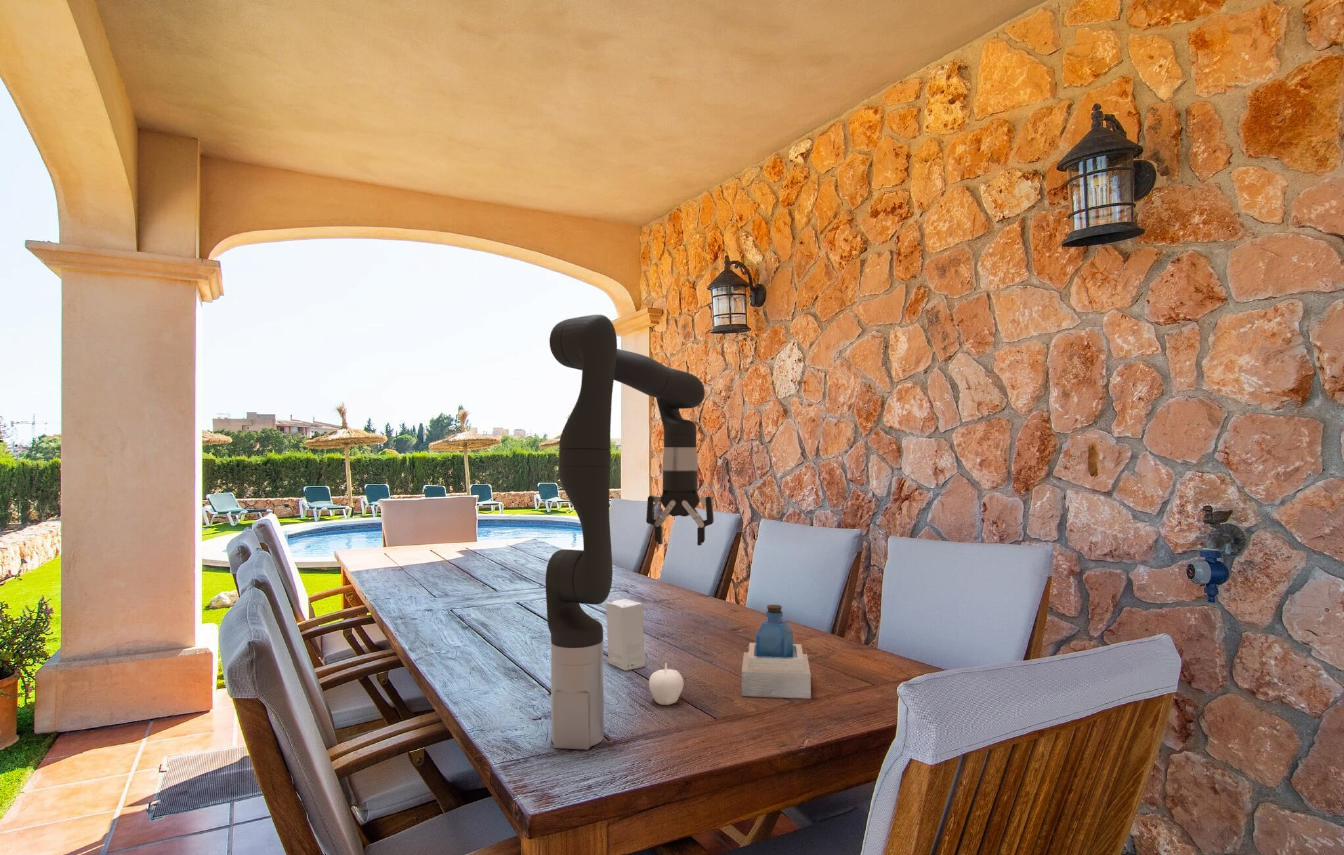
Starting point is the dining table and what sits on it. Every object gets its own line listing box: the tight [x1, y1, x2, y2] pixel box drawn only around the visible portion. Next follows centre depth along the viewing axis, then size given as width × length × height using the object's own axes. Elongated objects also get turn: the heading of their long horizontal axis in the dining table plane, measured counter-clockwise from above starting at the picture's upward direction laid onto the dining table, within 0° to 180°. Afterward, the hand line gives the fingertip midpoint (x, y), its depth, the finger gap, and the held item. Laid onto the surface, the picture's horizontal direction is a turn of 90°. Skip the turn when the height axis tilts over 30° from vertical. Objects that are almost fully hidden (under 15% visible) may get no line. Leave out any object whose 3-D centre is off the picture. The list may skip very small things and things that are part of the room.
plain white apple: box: [648, 662, 684, 706], centre depth 146 cm, size 7×7×8 cm
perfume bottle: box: [755, 604, 794, 657], centre depth 155 cm, size 6×6×12 cm
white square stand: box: [741, 642, 812, 700], centre depth 155 cm, size 14×14×8 cm
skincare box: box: [605, 598, 646, 671], centre depth 171 cm, size 8×6×15 cm
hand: (679, 544), depth 155 cm, fingers open, 8 cm apart
